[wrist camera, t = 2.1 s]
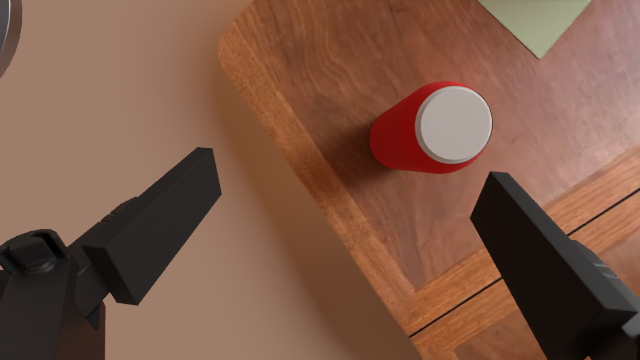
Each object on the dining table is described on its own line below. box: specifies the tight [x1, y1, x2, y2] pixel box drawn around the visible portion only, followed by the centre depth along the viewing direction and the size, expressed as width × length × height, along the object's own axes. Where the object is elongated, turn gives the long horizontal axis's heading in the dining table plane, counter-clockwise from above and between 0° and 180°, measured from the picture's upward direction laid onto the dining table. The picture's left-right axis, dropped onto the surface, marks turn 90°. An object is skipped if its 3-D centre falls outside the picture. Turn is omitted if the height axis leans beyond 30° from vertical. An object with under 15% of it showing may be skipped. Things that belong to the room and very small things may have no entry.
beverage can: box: [369, 81, 493, 174], centre depth 22 cm, size 6×6×12 cm
